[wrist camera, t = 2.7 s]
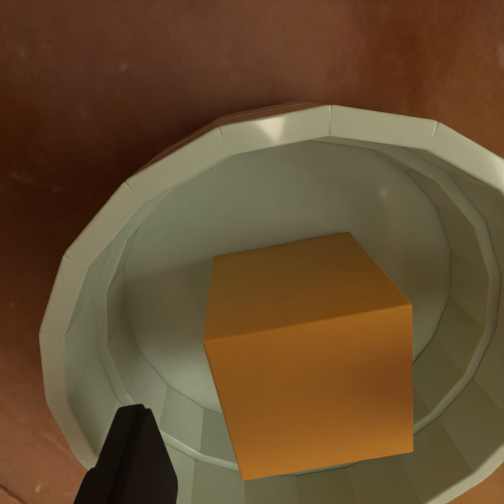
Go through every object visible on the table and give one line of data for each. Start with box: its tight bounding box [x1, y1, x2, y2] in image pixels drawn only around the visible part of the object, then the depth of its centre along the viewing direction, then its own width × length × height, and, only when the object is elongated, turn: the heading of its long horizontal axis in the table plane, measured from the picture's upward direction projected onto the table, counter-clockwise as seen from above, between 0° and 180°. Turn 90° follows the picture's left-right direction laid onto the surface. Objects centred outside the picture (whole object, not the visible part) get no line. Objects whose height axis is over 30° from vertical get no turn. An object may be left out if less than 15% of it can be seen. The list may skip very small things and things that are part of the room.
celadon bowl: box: [39, 102, 504, 504], centre depth 12 cm, size 14×14×5 cm
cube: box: [203, 232, 413, 481], centre depth 12 cm, size 5×5×5 cm
